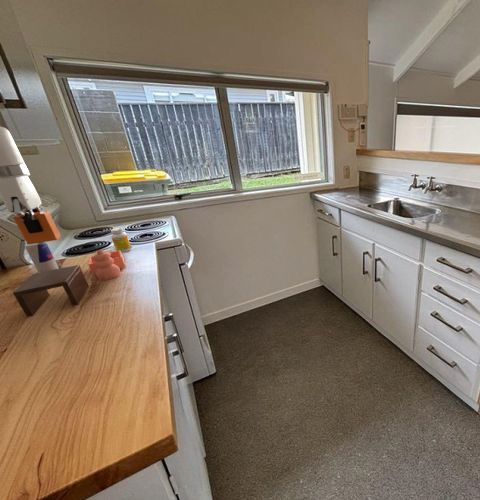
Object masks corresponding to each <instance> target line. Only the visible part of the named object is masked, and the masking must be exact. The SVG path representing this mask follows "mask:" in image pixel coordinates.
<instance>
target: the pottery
mask: <svg viewBox="0 0 480 500" xmlns="http://www.w3.org/2000/svg"><path fill="white" fill-rule="evenodd" d="M88 267H89V269H90V272H91V274H92V276H96V277H97V278H98V279H99V280H100V281H108V280H112V279H115V278H117V277H119V276H120V275H121V269H124V268H126V263H125V258H124V256H123V252H121V250H119V251H116V250H115V251H111V252H108V251H107V252H106V251H104V250H103V249H98V250H96V253H95V254H94V255H92V256H89V258H88Z"/></svg>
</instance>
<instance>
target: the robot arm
mask: <svg viewBox="0 0 480 500" xmlns="http://www.w3.org/2000/svg"><path fill="white" fill-rule="evenodd" d="M27 167H28V166H27V165H26V164H25V161H24V159H23V157H22V154H21V152H20V151H19V149H18V147H17V145H16V142H15V140H14V138H13V136H12V134H11V132H10V131H9V129H8V128H6V127H3V126H0V196H1V199H2V201H3V203H4V205H5V208H6V210H7V211H8V212H10V213H15V216H17V215H18V216H19V217H20V218H21V220H22V221H23V223H24V224H25V226H26V228H27V230H28V232H29V233H37V232H42V231H43V229H42V227H41V225H40V223H39V221H38V219H36V218H35V216H34V212H41V211H42V208H41V206H42V200H41V197H40V195H39V194H38V191H37V190H36V189H37V188H35V185H34V184H33V182H32V181H31V179H30V177H29V176H31V174H30V173H31V172H30V171H29V169H28V168H27ZM28 213H29V214H30V215H29V214H28Z"/></svg>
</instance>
